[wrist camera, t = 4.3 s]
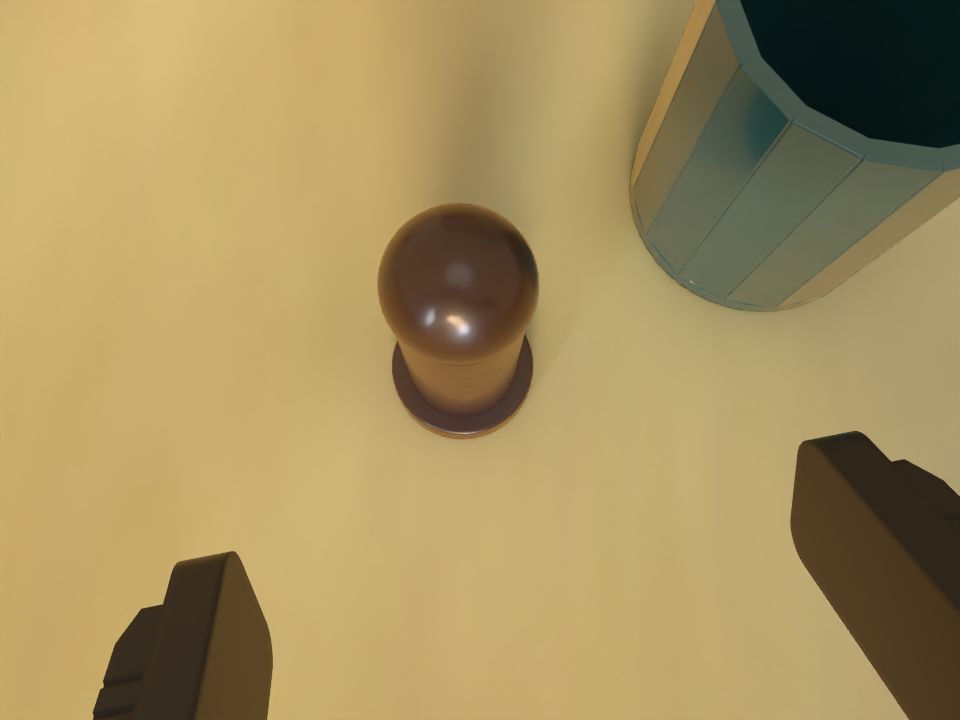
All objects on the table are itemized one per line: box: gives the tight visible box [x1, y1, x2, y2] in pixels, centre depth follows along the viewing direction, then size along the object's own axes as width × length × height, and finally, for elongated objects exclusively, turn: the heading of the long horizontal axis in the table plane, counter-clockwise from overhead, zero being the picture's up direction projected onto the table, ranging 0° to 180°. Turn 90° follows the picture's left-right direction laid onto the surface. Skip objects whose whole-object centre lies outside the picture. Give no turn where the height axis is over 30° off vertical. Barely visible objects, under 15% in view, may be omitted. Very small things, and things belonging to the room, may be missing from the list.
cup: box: [630, 0, 960, 311], centre depth 20 cm, size 8×8×9 cm
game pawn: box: [378, 203, 539, 439], centre depth 18 cm, size 4×4×9 cm
